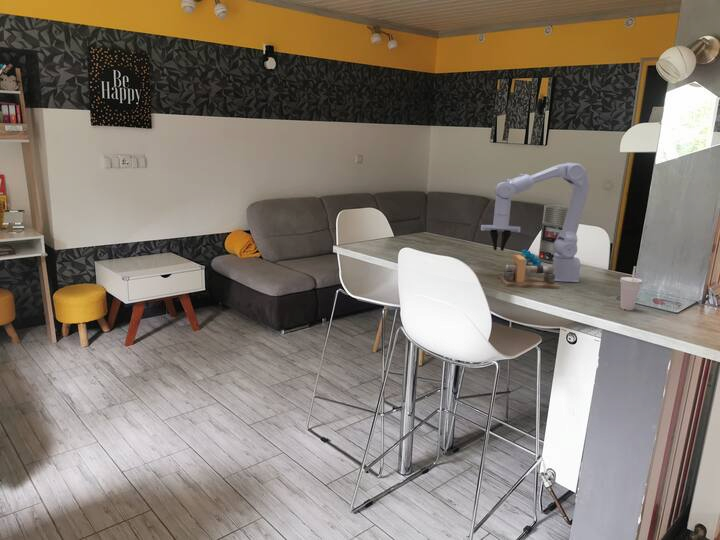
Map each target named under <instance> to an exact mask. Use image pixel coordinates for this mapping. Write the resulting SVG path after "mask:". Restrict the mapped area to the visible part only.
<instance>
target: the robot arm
mask: <svg viewBox="0 0 720 540" xmlns="http://www.w3.org/2000/svg"><path fill="white" fill-rule="evenodd" d="M587 172H588V171H587V169H586V168H585V167H584V166H583V164H581V163H578V162H569V161H568V162H567V161H566V162H564V163H559V164H556V165H553V166H551V167H549V168H546V169H543V170H542V171H539V172H536V173H534V174H532V175H529V174H528V173H519V174H518V175H519V176H517V177H514V178H512V179H511V178H507V180H506V181H501V182H499V183H497V185H496V186H495V188H494V193H495V201H494V210H493V211H494V212H493V224H481V225H480V231H482V232H483V231H489V233H490V237H491V241H492V245H493V246H492V247H493V251H497V249H498V248H497V247H498V240H499V239H498V238H499V232H501V240H500V241H501V242H500V251H504V249H505V247H506V244H507V242H508V240H509V238H510V237H511V235H512V233H521V226H515V225H509V224H510V217H511V206H512V203H511V202H512V197H513V196H514V195H517V194H520V193H523V192H526V191H528V190H531V189H532V188H533V186H534V184H537V183H540V182H543V181H546V180H549V179H552V178H562V179H563V180H564V181H566V182H567V183H568V184H569V185H570V187H571V188H572V193H571V198H570V200H569V204H568V206H567V207H568V211H567V214H566V218H565V222H564V225H563V229H562V231H561V232H560V233H559V235H558V238H557V239H556V240H555V242H554V244H553V248H554V250H555V254H554V259H553V264H552V267H554V273H553V274H554V275H555V280H554V282H566V283H567V282H568V283H579V282H580V280H579V276H580V270H581V261H580V258H579V257H575V256H576V254H577V253H578V245H577V244H578V236H577V235H578V234H577V233H578V229H579V225H580V223H581V218H582V216H583V210H584V208H585V205H586V201H587V197H588V194H589V190H590V184H589V183H590V182H589V179H588V176H587Z"/></svg>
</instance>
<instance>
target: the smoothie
mask: <svg viewBox="0 0 720 540" xmlns="http://www.w3.org/2000/svg"><path fill="white" fill-rule="evenodd" d="M636 267H637V266H635V265H634V266H633V270H632V277H631V276H630V277H629V276H628V277H627V276H622V277H620V280H619V281H620V307H621V308H622V309H621V308H620V309H621V310H624V309H626V310H625V311H634V308H635V305H636V301H637V299H638V295H639V292H640V289H641V285H642V284H643V280H642V279H640V278H636V277H635V275H636V269H637V268H636Z"/></svg>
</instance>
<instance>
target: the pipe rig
mask: <svg viewBox="0 0 720 540" xmlns="http://www.w3.org/2000/svg"><path fill="white" fill-rule="evenodd" d="M516 270H517V265H513V264H506V265H505V268H504V269H503V275H499V276H498V279H499V280H500V282H502V284H503V285H504V286H505V287H508V288H509V287H511V288H513V287H515V288H531V289H535V288H536V289H552V290H553V289H555V290H559V289H560V285H559V284H558V283H556V281H554V280H555V275H554V274H553V273H554V267H553V266H543V265H541V266H536V265H526V269H525V273H535V274H543V277H534V276H533V277H532V276H531V277H530V276H525V278H524V283H517V282H516V281H515V280H514V279H513V274H514V273H513V272H512V271H514V272H516Z"/></svg>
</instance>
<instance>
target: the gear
mask: <svg viewBox="0 0 720 540" xmlns="http://www.w3.org/2000/svg"><path fill="white" fill-rule="evenodd" d="M521 254H522V256H523V257H524V258H525V259H526V266H528V264H529V263H532V266H542V261H538V257H537V256H535V254H534V253H531V251H530V250H527V249H526V248H525V249H522V250H521Z"/></svg>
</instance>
